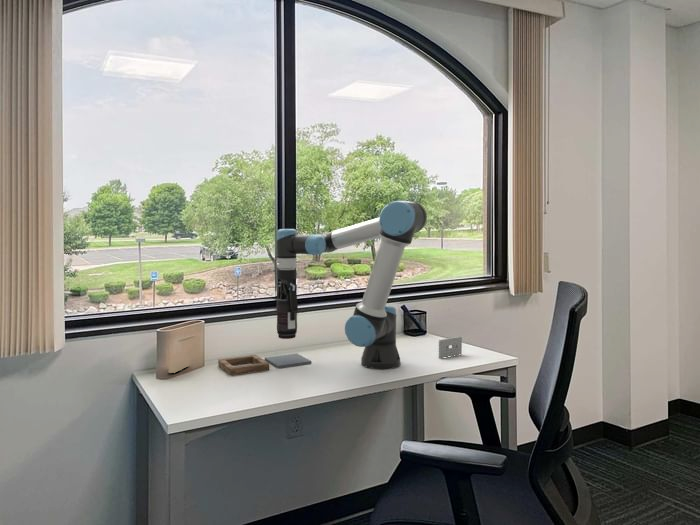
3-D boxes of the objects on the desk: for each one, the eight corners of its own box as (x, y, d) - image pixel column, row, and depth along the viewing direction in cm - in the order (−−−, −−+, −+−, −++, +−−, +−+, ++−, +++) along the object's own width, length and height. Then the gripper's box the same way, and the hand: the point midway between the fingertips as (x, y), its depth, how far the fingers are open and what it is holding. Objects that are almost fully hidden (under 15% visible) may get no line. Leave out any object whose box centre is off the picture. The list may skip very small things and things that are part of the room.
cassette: (440, 359, 224) (440, 340, 223) (437, 358, 225) (437, 339, 225) (462, 355, 230) (462, 337, 230) (459, 354, 232) (459, 336, 231)
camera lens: (301, 337, 218) (300, 299, 217) (281, 340, 214) (281, 301, 212) (292, 334, 225) (292, 297, 223) (273, 336, 221) (273, 298, 219)
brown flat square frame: (269, 370, 208) (269, 363, 208) (230, 375, 201) (230, 368, 201) (255, 360, 221) (255, 354, 221) (218, 365, 214) (218, 359, 214)
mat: (311, 363, 217) (311, 361, 217) (277, 368, 210) (277, 365, 210) (296, 355, 229) (296, 353, 229) (264, 360, 223) (264, 357, 223)
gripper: (267, 266, 224) (268, 322, 226) (288, 271, 206) (288, 332, 208) (285, 266, 228) (285, 321, 230) (306, 270, 210) (307, 330, 212)
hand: (287, 326), depth 219 cm, fingers closed on camera lens, 8 cm apart
